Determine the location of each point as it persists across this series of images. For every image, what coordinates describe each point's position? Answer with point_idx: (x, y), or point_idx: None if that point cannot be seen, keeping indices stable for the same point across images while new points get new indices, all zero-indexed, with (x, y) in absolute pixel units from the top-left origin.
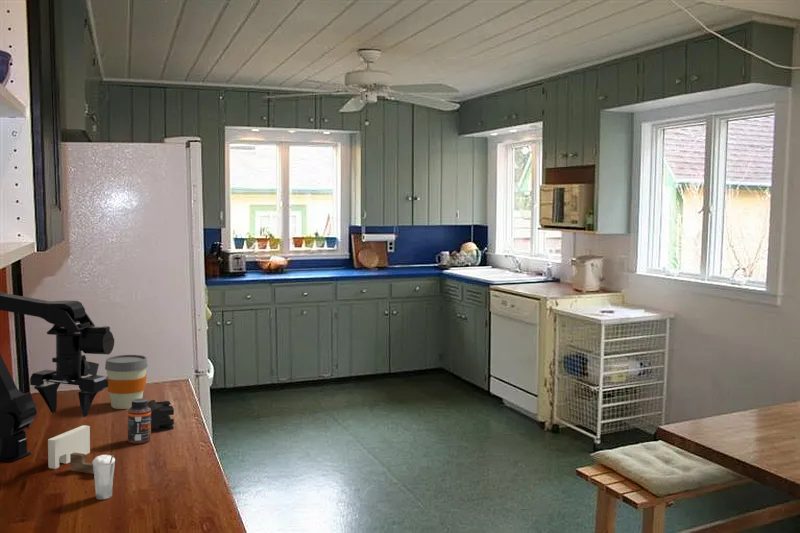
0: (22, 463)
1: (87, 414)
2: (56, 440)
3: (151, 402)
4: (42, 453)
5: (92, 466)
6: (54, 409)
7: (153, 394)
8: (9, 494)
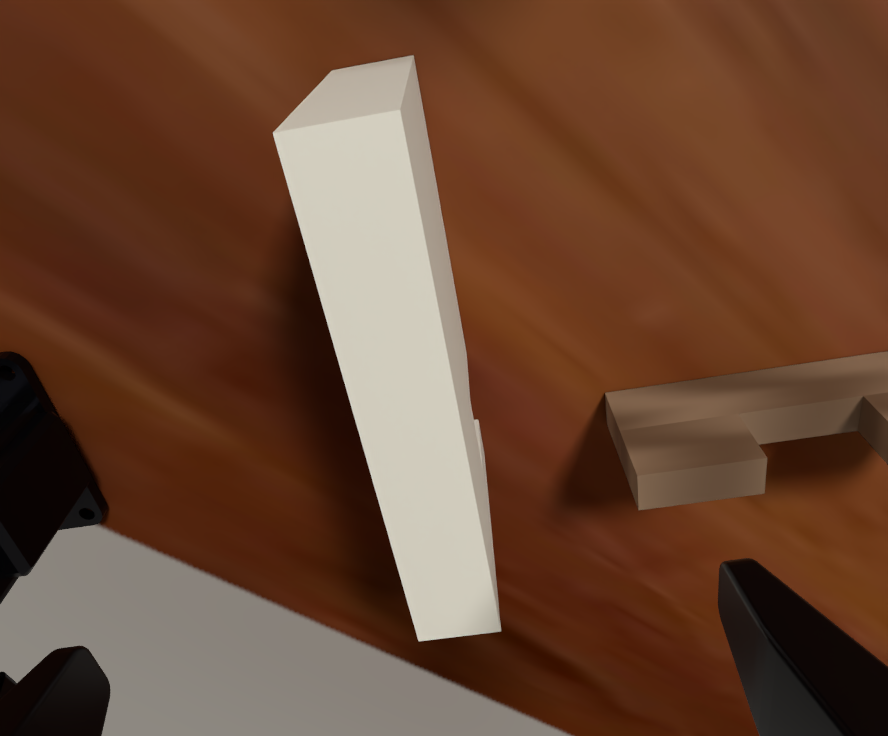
0: (187, 485)
1: (775, 580)
2: (496, 610)
3: None
4: (71, 292)
5: (837, 428)
6: (73, 718)
7: None
8: (572, 726)
